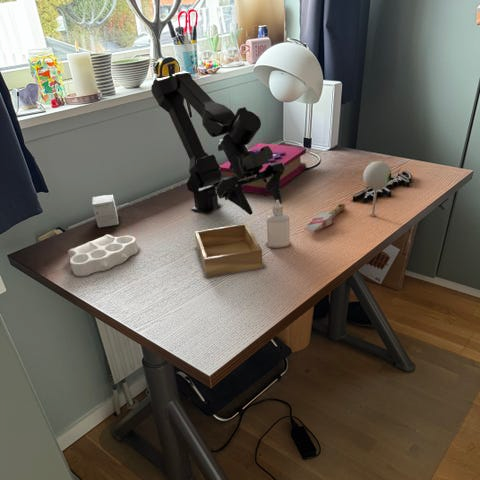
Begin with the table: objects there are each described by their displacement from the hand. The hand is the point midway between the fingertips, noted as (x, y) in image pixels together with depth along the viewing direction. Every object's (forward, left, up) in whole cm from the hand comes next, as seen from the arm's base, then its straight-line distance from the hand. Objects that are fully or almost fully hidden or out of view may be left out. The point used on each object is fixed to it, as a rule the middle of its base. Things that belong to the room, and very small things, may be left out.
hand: (266, 208), depth 119 cm
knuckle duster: (-32, -28, -8) cm, 44 cm away
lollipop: (+20, +25, -9) cm, 33 cm away
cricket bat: (+9, +16, -9) cm, 20 cm away
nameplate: (+16, +45, -9) cm, 49 cm away
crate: (-4, -13, -8) cm, 16 cm away
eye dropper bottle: (+4, -2, -8) cm, 10 cm away
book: (-25, +40, -8) cm, 48 cm away
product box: (-48, -11, -9) cm, 50 cm away
